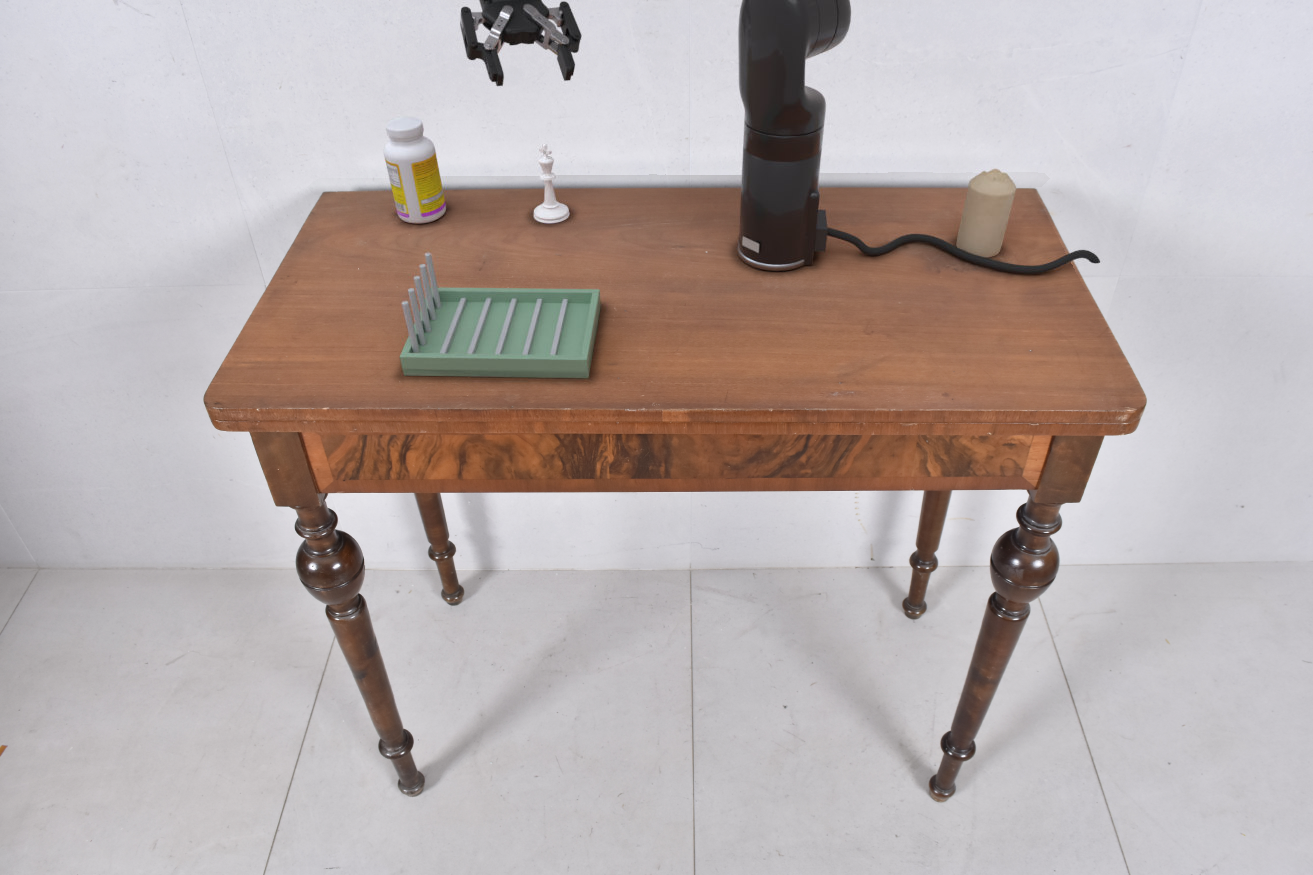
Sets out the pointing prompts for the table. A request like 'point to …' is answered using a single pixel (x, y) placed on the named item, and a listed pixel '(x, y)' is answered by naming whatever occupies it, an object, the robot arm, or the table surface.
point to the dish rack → (499, 330)
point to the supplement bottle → (413, 171)
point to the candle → (986, 213)
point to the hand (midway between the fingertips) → (535, 79)
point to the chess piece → (549, 193)
